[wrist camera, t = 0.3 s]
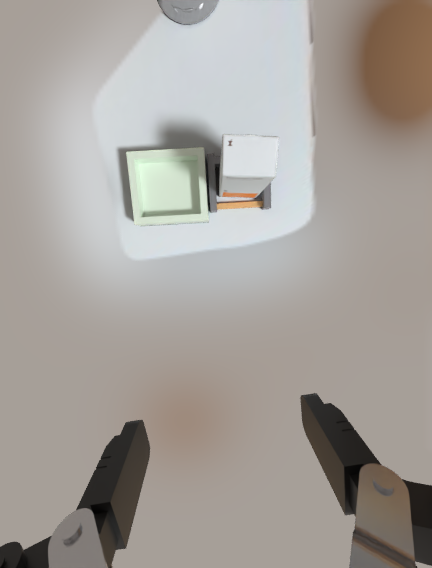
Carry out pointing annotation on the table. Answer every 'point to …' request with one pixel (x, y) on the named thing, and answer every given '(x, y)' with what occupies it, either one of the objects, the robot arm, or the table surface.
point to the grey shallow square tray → (265, 203)
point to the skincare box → (247, 164)
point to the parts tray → (168, 186)
